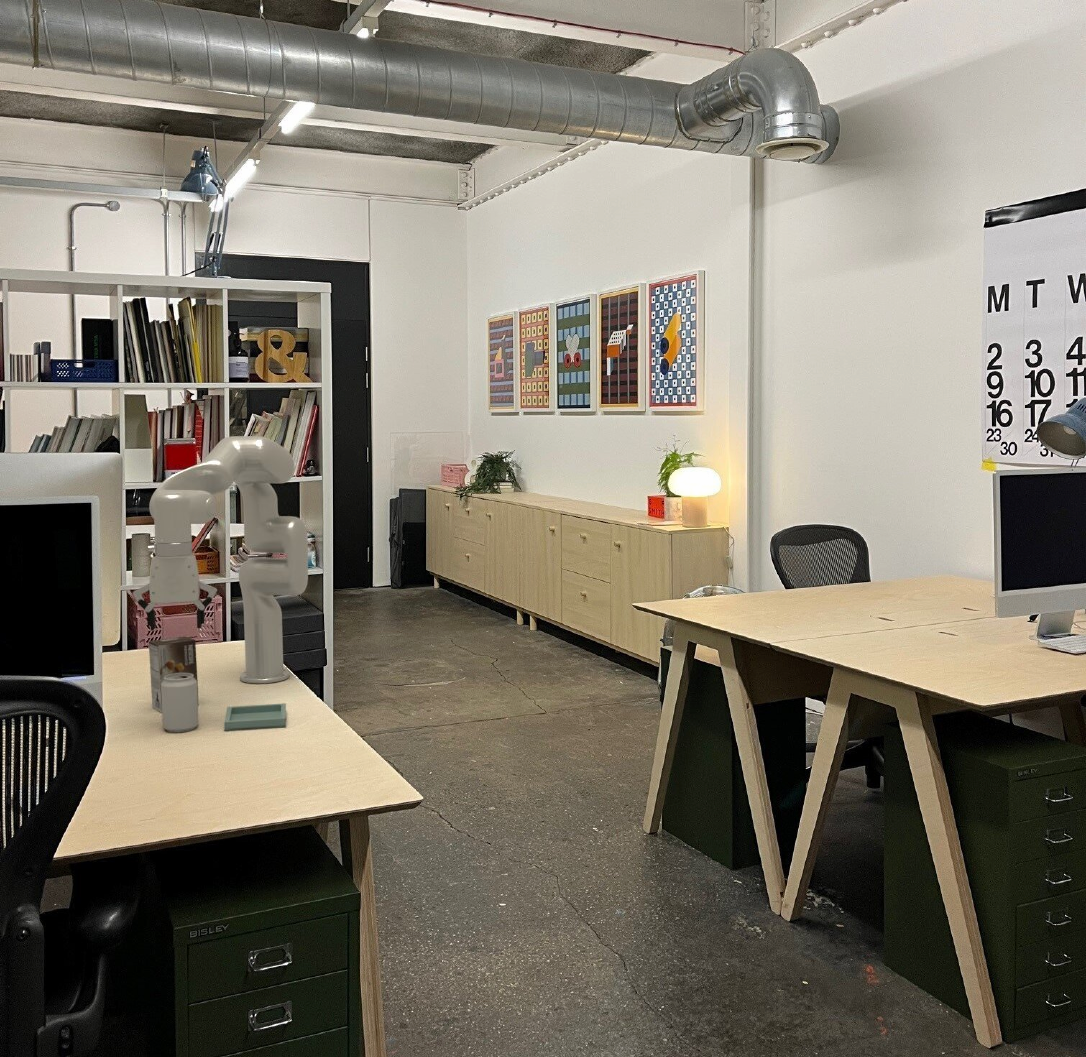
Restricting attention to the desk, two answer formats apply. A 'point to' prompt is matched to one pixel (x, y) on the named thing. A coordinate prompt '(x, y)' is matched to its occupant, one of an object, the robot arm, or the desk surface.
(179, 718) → the can
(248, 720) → the tray
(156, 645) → the coffee box
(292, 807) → the desk surface
